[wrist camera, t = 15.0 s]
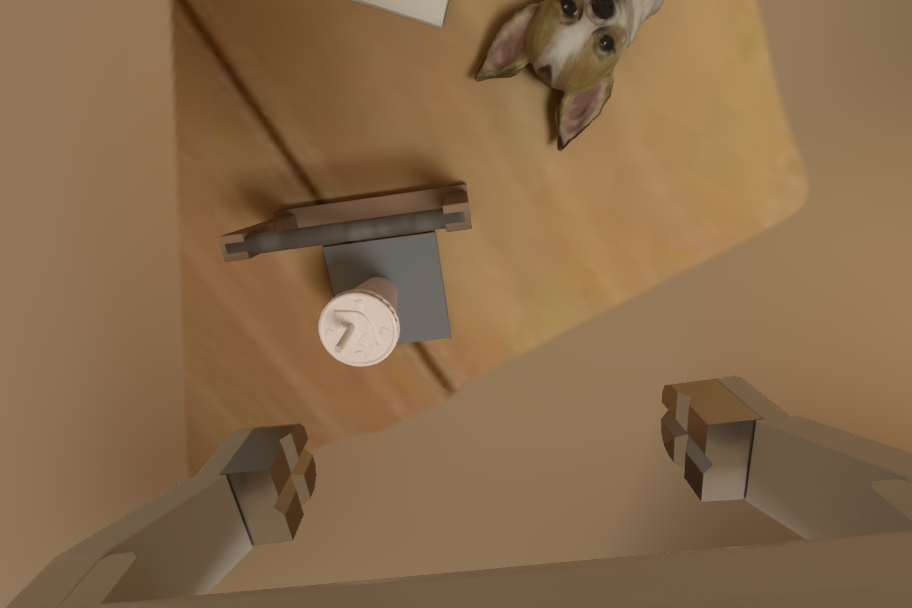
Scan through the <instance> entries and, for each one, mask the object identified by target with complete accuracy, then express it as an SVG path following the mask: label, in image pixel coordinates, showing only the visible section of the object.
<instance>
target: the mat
mask: <svg viewBox="0 0 912 608" xmlns="http://www.w3.org/2000/svg"><path fill="white" fill-rule="evenodd" d="M323 251H324V255H325V259H326V263H327V268H328V272H329V276H330V280H331V284H332V289H333V293H334V297H335V296H336V295H338V294H339V293H342V292H345V291H347V290H352V289H354V288H356V287H357V286H359V285H360V284H362V283H364V282H365V281H367V280H368V279H370V278H373V277H383V278H386V279H388V280H390V281H391V282H392V283H393V284H394V286H395V287H396V289H397V294H398V297H397V316H398V318H399V324H400V332H399V338H398V341H397V343H396V344H402V343H410V342H418V341H426V340H434V339H442V338H451V332H450V326H449V319H448V312H447V306H446V299H445V292H444V286H443V279H442V272H441V266H440V259H439V253H438V246H437V239H436V233H435V232H427V233H420V234H413V235H405V236H398V237H390V238H383V239H376V240H368V241H361V242H353V243H346V244H339V245H331V246H324V247H323Z"/></svg>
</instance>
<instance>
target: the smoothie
mask: <svg viewBox="0 0 912 608" xmlns="http://www.w3.org/2000/svg"><path fill="white" fill-rule="evenodd" d="M397 297H398V294H397V289H396V287H395V286H394V284H393V283H392V282H391V281H390V280H388V279H386V278H383V277H373V278H370V279H368V280H367V281H365V282H364V283H362V284H360V285H359V286H357V287H356V288H354V289H352V290H347V291H345V292H342V293H339V294H338V295H336V296H335V297H334V298H332V299H331V300H330V301H329V302H328V304H327V305H326V306H325V308H324V309H323V311H322V313H321V316H320V319H319V326H318V327H319V335H320V338H321V341H322V343H323V345H324V347H325V348H326V350H327V351H328V352H329V353H330V354H331V355H332V356H333V357H335V358H336V359H338V360H339V361H341V362H343V363H346V364H349V365H352V366H369V365H373V364H376V363H378V362H380V361H382V360H383V359H385V358H386V357H387V356H388V355H389V354H390V353H391V352H392V350H393V349H394V347H395V345H396V343H397V341H398V338H399V332H400V324H399V318H398V316H397Z"/></svg>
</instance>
